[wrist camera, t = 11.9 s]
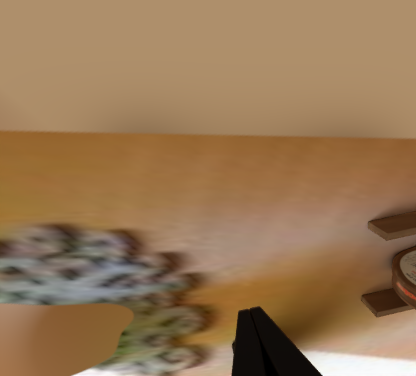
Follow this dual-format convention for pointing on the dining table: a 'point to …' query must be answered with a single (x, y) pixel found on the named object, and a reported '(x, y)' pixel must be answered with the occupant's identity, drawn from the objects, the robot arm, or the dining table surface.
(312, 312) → the dining table surface
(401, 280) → the tin
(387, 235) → the tray frame
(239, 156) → the dining table surface
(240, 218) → the dining table surface
